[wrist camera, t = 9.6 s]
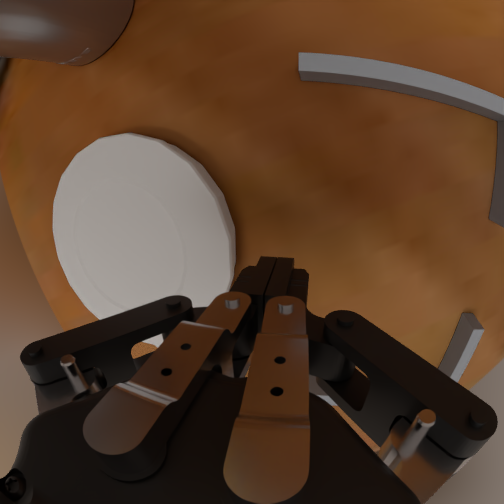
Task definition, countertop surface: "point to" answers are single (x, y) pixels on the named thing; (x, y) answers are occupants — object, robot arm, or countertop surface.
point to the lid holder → (440, 91)
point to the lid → (141, 227)
